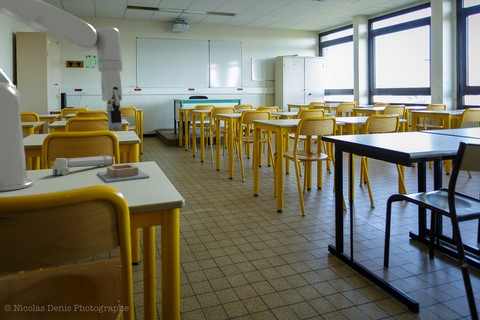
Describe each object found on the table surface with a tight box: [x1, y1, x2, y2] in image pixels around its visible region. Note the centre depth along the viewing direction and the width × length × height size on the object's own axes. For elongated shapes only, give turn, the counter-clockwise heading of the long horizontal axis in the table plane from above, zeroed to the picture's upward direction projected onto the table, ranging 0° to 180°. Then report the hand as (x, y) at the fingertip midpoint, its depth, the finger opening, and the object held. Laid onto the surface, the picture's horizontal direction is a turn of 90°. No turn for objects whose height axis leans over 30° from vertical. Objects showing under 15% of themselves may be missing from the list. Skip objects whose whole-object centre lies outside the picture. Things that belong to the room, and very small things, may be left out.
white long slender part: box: [51, 155, 114, 176], centre depth 149 cm, size 5×7×25 cm
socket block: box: [96, 163, 150, 183], centre depth 138 cm, size 14×16×3 cm
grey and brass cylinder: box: [106, 102, 123, 132], centre depth 133 cm, size 4×4×9 cm
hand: (114, 121), depth 134 cm, fingers closed on grey and brass cylinder, 4 cm apart
